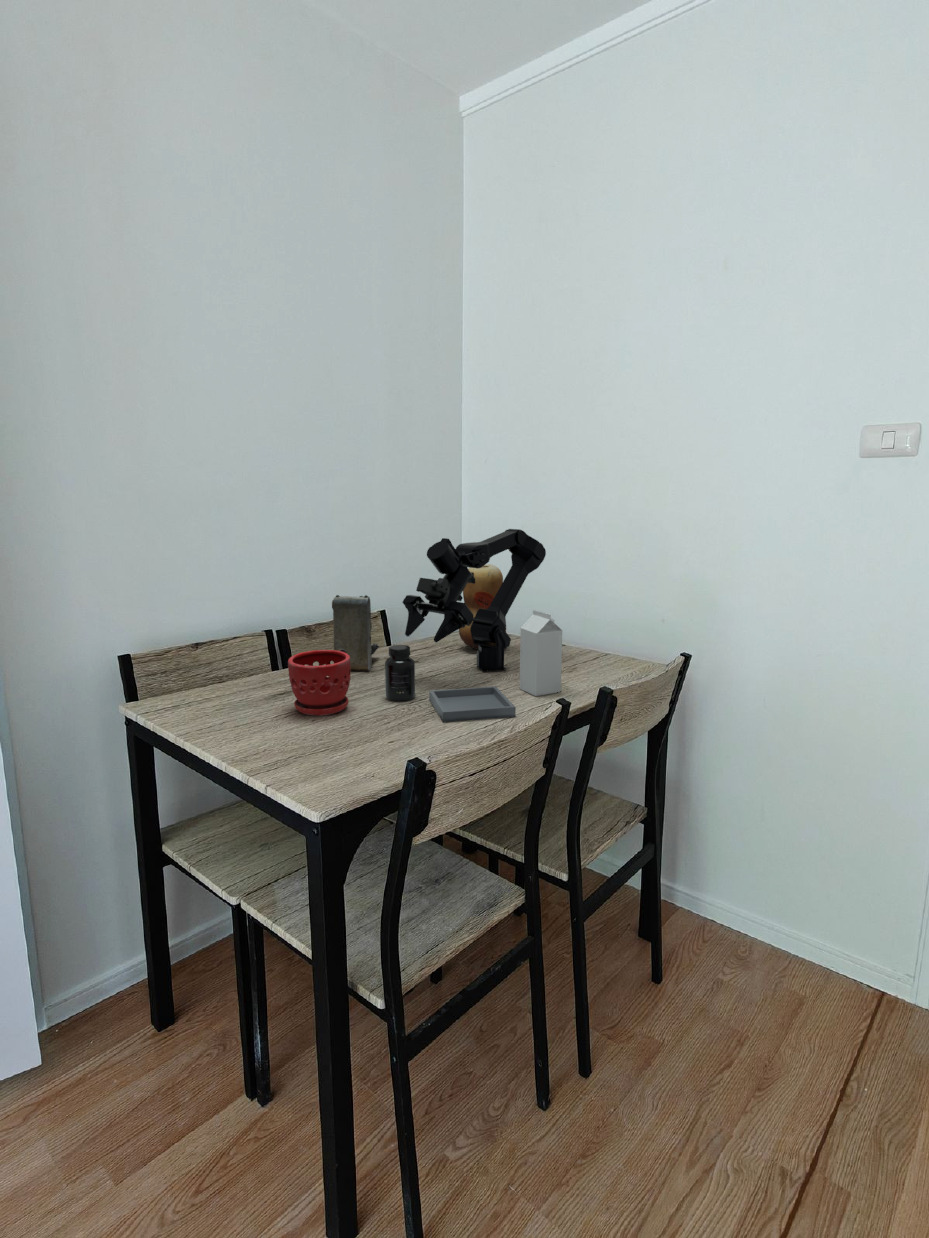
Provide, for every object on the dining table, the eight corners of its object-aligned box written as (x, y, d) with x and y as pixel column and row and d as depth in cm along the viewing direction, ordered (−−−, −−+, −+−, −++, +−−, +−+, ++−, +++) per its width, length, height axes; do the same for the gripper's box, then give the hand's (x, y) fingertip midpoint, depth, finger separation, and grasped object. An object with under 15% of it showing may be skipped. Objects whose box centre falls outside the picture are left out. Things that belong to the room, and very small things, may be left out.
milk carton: (535, 697, 166) (537, 616, 162) (519, 689, 172) (520, 611, 168) (560, 692, 169) (563, 613, 165) (544, 685, 175) (545, 608, 171)
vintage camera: (382, 659, 201) (380, 588, 198) (370, 672, 186) (367, 596, 183) (348, 659, 202) (346, 588, 199) (333, 671, 187) (330, 596, 184)
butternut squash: (458, 655, 204) (458, 567, 199) (458, 644, 217) (458, 562, 212) (507, 655, 204) (508, 567, 199) (504, 644, 217) (505, 562, 213)
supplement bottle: (385, 693, 168) (384, 643, 166) (415, 692, 169) (414, 643, 166) (385, 702, 161) (384, 650, 159) (415, 701, 162) (414, 650, 160)
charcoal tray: (495, 695, 167) (495, 686, 166) (515, 716, 152) (515, 706, 151) (429, 699, 163) (429, 690, 163) (442, 722, 148) (442, 712, 148)
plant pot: (286, 704, 160) (283, 652, 157) (344, 698, 165) (342, 647, 162) (295, 723, 148) (292, 666, 146) (358, 715, 153) (356, 660, 150)
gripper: (407, 561, 174) (374, 612, 168) (466, 568, 162) (433, 623, 156) (429, 590, 182) (399, 640, 176) (487, 598, 170) (456, 652, 164)
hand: (420, 638), depth 168 cm, fingers open, 9 cm apart
